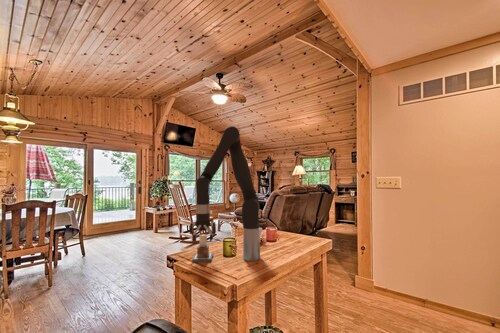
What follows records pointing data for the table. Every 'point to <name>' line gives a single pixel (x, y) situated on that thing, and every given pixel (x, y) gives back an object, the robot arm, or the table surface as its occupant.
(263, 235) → the duck figurine
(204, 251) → the walnut cube
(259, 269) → the table surface
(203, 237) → the cream cylinder
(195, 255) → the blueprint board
